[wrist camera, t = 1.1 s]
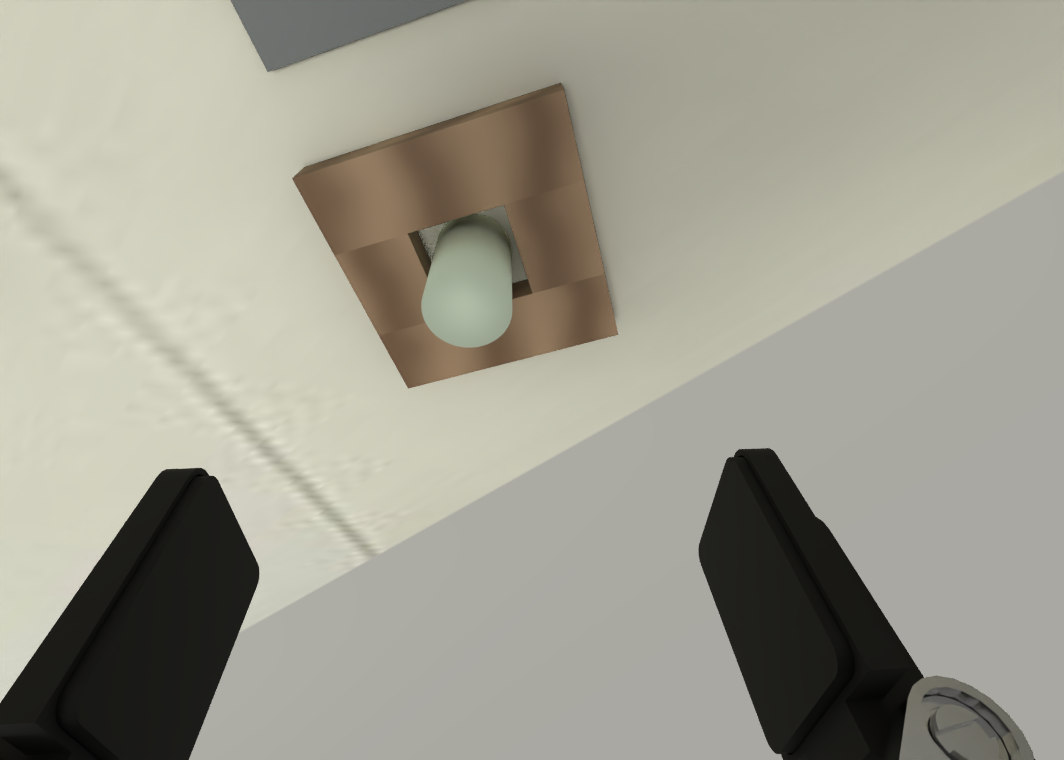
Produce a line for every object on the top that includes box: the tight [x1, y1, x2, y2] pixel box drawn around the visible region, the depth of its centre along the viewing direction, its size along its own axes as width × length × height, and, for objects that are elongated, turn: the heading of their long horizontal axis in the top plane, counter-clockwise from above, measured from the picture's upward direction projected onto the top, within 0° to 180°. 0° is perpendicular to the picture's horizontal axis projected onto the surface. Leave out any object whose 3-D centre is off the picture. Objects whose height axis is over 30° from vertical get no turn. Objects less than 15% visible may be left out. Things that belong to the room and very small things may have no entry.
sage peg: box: [421, 214, 512, 348], centre depth 32 cm, size 5×5×8 cm
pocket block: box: [292, 83, 618, 388], centre depth 35 cm, size 16×16×2 cm
